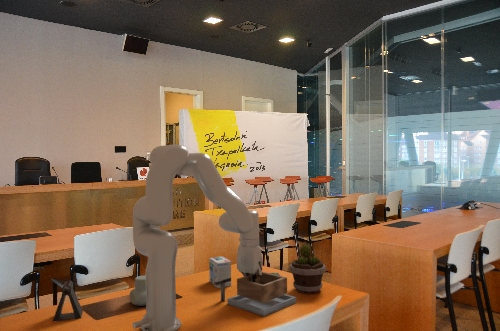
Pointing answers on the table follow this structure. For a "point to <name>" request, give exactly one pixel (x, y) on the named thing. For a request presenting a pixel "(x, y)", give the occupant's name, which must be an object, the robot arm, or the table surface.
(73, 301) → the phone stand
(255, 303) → the tray
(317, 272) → the flowerpot
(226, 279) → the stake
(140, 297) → the air freshener
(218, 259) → the light bulb box
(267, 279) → the frame
